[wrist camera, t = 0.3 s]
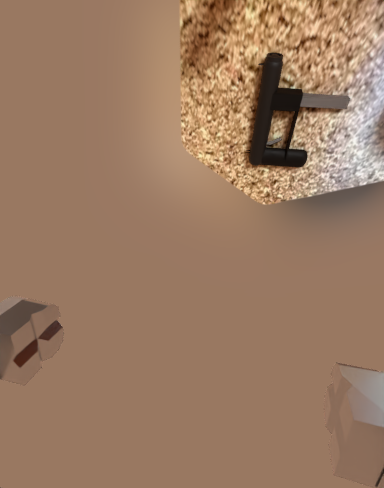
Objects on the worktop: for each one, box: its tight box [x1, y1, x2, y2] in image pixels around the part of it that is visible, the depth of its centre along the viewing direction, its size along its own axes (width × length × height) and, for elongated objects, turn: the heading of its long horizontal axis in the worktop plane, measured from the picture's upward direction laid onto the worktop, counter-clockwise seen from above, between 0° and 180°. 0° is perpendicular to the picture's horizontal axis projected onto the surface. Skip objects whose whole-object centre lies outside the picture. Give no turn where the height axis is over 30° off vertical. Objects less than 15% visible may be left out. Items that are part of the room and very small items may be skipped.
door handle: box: [245, 53, 350, 167], centre depth 53 cm, size 3×20×16 cm
